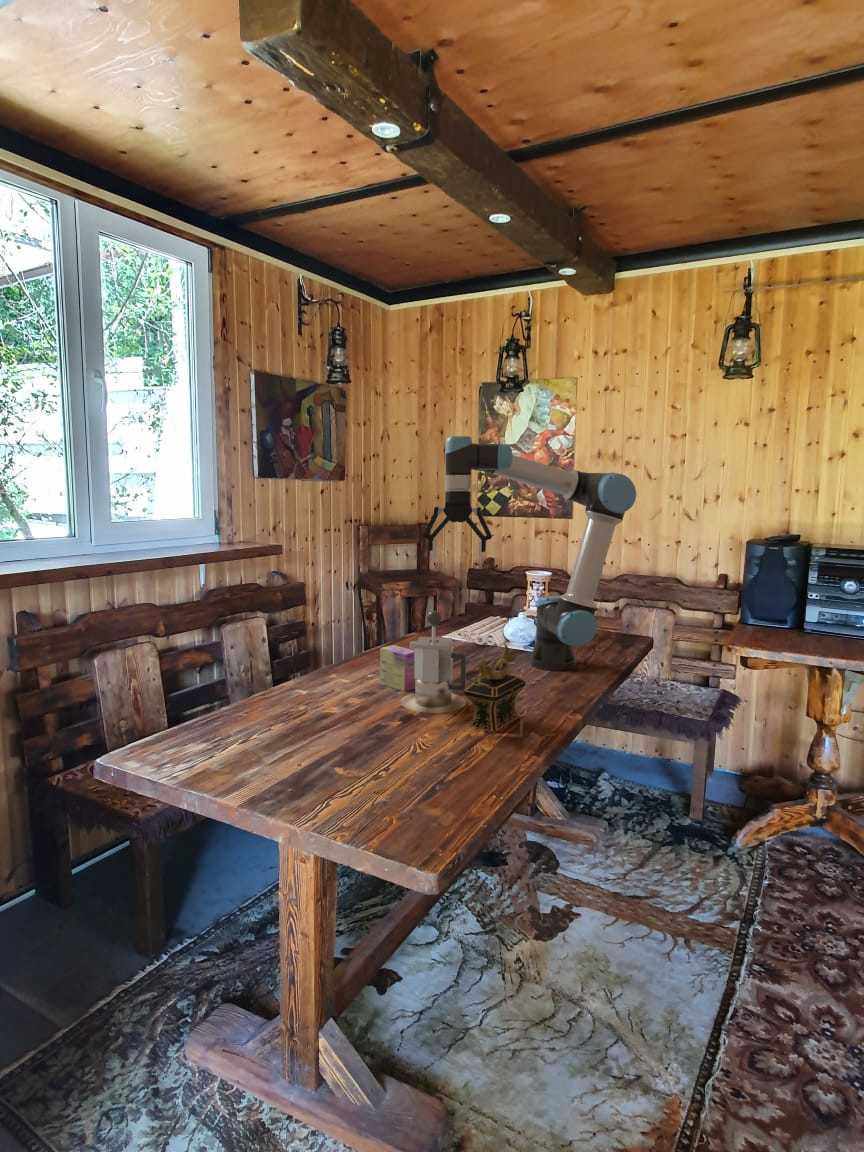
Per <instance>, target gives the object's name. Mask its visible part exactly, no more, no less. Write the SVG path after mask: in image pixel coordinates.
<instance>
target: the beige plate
mask: <svg viewBox="0 0 864 1152" xmlns="http://www.w3.org/2000/svg"><path fill="white" fill-rule="evenodd" d="M466 703H467V700H466V698H464V697H463V696H461V695H459V694H455V693H452V702H451V704H450V705H448V706H444V707H438V708H430V707H423V706H420V705H418V704H416V703H415V692H414V693H410V694H407V695H405V696H403V697H402V698H401V700H400V704H401V706H403V707H404V708H406V709H407V710H410V711H413V712H414V711H415V712H417V713H429V714H441V713H451V712H454V711H458V710H459V709H462V708H463V707H465V706H466Z"/></svg>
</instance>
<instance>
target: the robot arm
mask: <svg viewBox="0 0 864 1152" xmlns="http://www.w3.org/2000/svg"><path fill="white" fill-rule="evenodd" d="M444 451H445V452H444V454H445V475H444V476H445V477H444V480H445V481H444V482H445V483H444V485H445V487H444V488H445V489H446V491H445V492H444V506H443V507H441V506H440V507H439V506H435V507H434V508H433V514H432V516H431V518H430V520H429V522H428V524H427V525H426V529H425V531H424V532H423V534H422V537H423V538H424V539H428V545H429V546H428V550H429V552H432V563H434V564H435V563H436V562H437V539H435V538H436V536H437V535H438V534H439V533H440V532H441V531H442V530H443V528H444V527H445V526H446V525H447V524H448V522H451V523H464V522H466V524H468V526H470V528H471V529H472V531H473V532H474V533H475V534H476V535H477V537H478V538H479V539H480V540H479V541H478V564H479V565H482V563H483V562H482V560H483V558H482V557H483V555H482V554H483V553H486V550H487V546H486V545H487V541H488V540H492V538H493V534H492V532H491V531H490V528H489V526H488V525H487V522H486V520H485V518H484V516H483V513H482V507H481V506H478V507H472V505H471V503H472V502H471V501H472V492H471V491H470V490H471V489H472V471H473V470H474V471H479V472H484V473H487V474H492V475H494V476H498V477H501V478H505V479H508V480H512V481H514V482H519V483H522V484H525V485H529V486H532V487H536V488H538V489H542V490H545V491H549V492H552V493H556V494H559V495H562V496H563V498H564V499H565V500H568V501H571V502H574V503H577V504H579V505H582V506H584V507H585V510H584V513H585V515H586V517H587V519H586V520H587V521H586V524H585V528H584V531H583V535H582V538H581V541H580V544H579V547H578V552H577V555H576V559H575V562H574V566H573V570H572V573H571V576H570V579H569V582H568V586H567V589H566V592H565V593H564V594H562V595H560V596H559V595H557V596H556V595H554V596H553V595H551V596H550V595H549V596H540V597H538V599H537V601H536V602H537V604H536V607H535V608H536V624H535V625H536V630H535V631H536V632H535V635H536V636H535V637H536V638H535V643H534V645H533V649H532V651H531V653H530V658H529V664H530V665H531V666H532V667H534V668H536V669H541V670H547V671H567V670H572V669H575V668H576V667H577V657H576V653H575V651H574V647H581V646H582V647H583V646H585V645H587V644H589V642H591V641H592V639H594V638H595V636H596V633H597V631H598V630H597V629H598V624H597V621H596V617H595V615H596V610H597V608H598V607H597V605H596V603H595V596H596V593H597V590H598V586H599V582H600V579H601V576H602V574H603V573H602V572H603V570H604V567H605V562H606V559H607V556H608V552H609V549H610V545H611V542H612V539H613V536H614V532H615V528H616V526H617V525H619V524H620V523H623V520H624V516H625V514H626V512H627V511H629V510H630V509H631V508H632V507H634V504H635V502H636V498H637V488H636V486H635V484H634V482H633V481H632V480H631V478H630V477H628V476H627V475H625V474H622V473H619V472H606V473H605V472H585V471H579V470H576V469H572V470H570V471H568V470H565V469H562V468H558V467H555V466H551V465H548V464H544V463H542V462H538V461H535V460H532V459H529V458H525V457H520V456H518V455H515V454H513V450H512V447H511V446H510V445H509V444H506V443H505V444H502V443H473V439H472V437H471V436H463V435H461V436H459V435H457V436H456V435H455V436H451V435H450V436H448V437H447V438H446V440H445V450H444ZM442 513H444V515H445V516H446V517H445V518H444V519H443V520H442V522H440V524H439V525H438V526H437V527H436V528H435V530H434V531H433V532H431V531H432V529H433V528H434V527H433V526H434V525H435V522H436V521H437V519H438V516H439V515H441V514H442ZM472 513H473V514H474V515H476V516H477V519H478V521H479V522H480V524H481V527H482V529H483V531H484V533H485V535H484V534H483V532H482V531H481V530H480V529H479V528H478V526H477V525H476V524H475V522H474V521H473V520H472V518H471V517H470V515H472ZM430 533H431V534H430Z"/></svg>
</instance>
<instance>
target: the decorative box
mask: <svg viewBox="0 0 864 1152" xmlns="http://www.w3.org/2000/svg"><path fill="white" fill-rule="evenodd" d="M503 645H504V651H503V654H502V656H498V657H496V658H494V659H492V661H491V662H489V663H488V664H487V663H486V662H487V661H486V660H484V659H480V660H478V662H477V667H478V670H479V674H478V678H477V680H475V681H473V682H471V683H470V684H469V685H467V686H466V688H465V689H464V690H463V694H464V697H466V698H467V699H468V700H469V701H470V702H471V703H472V705H473V710H474V711H473V716H472V719H471V720H470V721H469V726H471V727H473V728H477V729H482V732H483V733H487V734H492V735H496V734H499V733H500V732H499V731H500V730H501V729H503V728H504V727H505V726H508V725H509V724H510V723H512V722H514V721H516V720H518V719H519V718H520V717H519V715H518V712H517V710H516V705H515V704H516V699H517V697H518V695H519V694H520V692H521V691H522V690H523V689H524V688H525V687H526V684H527V683H526V680H524V679H523V678H521V677H519V676H518V675H515V674H509V673H507V672H508V670H509V663H512V662H515V661H516V660H517V658H518V657H519V656H520V654H521V653H520V652H521V651H520V652H519V651H517V652H515V653H512V654H511V650H510V648H509V647H508V645H507V644H506V643H505V642H504V644H503ZM495 662H496V664H495ZM494 664H495V666H494V669H492V668H491V667H492V666H493V665H494ZM484 730H486V731H484Z"/></svg>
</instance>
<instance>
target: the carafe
mask: <svg viewBox="0 0 864 1152" xmlns="http://www.w3.org/2000/svg"><path fill="white" fill-rule="evenodd" d="M408 649H413V650H414V678H415V688H414V693H415V703H416V704H418V705H420V706H423V707H430V708H438V707H444V706H448V705H450V704H451V702H452V694H453V691H452V690H454V691H464V689H465V688H467V686H466V685H467V652H465V651H464V652H463V651H454V644H453V637H439V636H438V637H436V642H432V636H419V637H418V638H417V640H415V641H412V640H411V641H410V642H409V648H408ZM454 659H460V683H459V682H453V673H454V672H453V665H454V664H453V663H454V662H453V660H454Z"/></svg>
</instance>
